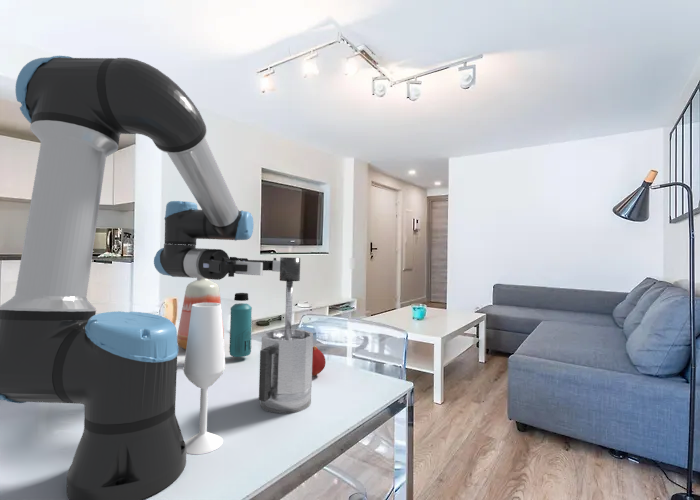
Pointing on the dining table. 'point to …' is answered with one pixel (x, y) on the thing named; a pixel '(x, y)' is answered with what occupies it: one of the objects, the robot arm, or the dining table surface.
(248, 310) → the beverage bottle
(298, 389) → the press pot
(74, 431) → the dining table surface
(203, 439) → the champagne flute
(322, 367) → the onion
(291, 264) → the plunger
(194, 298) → the vase
